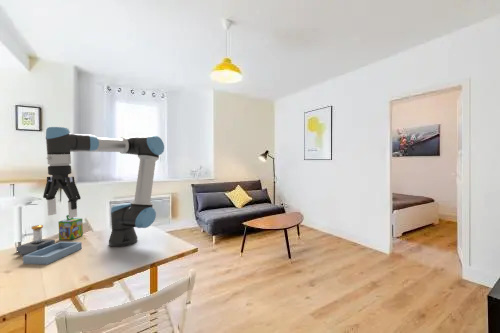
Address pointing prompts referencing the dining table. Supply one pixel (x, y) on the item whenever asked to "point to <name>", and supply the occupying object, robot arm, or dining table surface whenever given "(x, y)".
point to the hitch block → (34, 246)
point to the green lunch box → (70, 228)
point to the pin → (37, 233)
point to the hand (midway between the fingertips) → (62, 216)
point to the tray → (52, 253)
